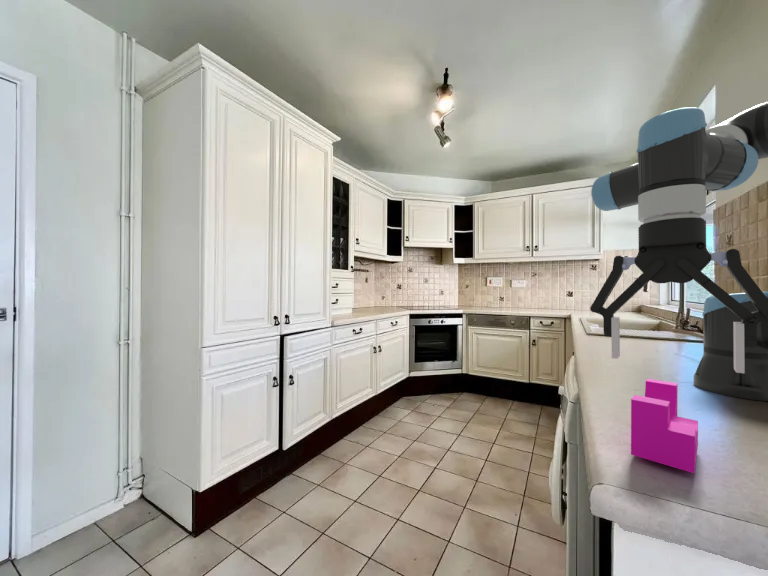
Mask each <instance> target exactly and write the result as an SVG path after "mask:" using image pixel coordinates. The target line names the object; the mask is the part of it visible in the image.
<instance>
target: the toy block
mask: <svg viewBox="0 0 768 576" xmlns="http://www.w3.org/2000/svg"><path fill="white" fill-rule="evenodd" d="M644 389H645V390H644V396H642V395H637V394H634V395H633V396H632V398H631V399H630V455H632V456H635V457H638V458H642V459H645V460H648V461H651V462H655V463H659V464H661V465H662V464H663V465H665V466H669V467H672V468H675V469H679V470H680V471H686V472H688V473H692V474H695V473H696V465H697V457H698V456H697V455H698V450H699V449H698V447H699V421H698V420H696V419H691V418H686V417H681V416H678V382H672V381H671V382H670V381H664V380H660V379H659V380H658V379H652V378H647V379H646V380H645V388H644Z"/></svg>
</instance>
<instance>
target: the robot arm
mask: <svg viewBox="0 0 768 576" xmlns="http://www.w3.org/2000/svg"><path fill="white" fill-rule="evenodd" d="M707 127H708V123H707V121H706V114H705V112H704V110H703V109H702V108H700V107H694V106H693V107H692V106H691V107H679V108H676V109H672V110H668V111H666V112H665V111H664V112H662V113H660V114H657V115H655V116H654V117H651V118H650V119H647V121H646V122H644V123H643V124H642V125H641V126H640V128H639V131H638V139H637V149H636V154H637V162H636V163H633V164H630V165H628V166H625V167H623V168H621V169H617V170H614V171H610V172H608V173H607V174H604V175H602V176H599V177H598V178H596V179H595V180H594V181H593V184H592V186H591V192H590V195H591V198H592V202H593V204H594V205H595V207H596V208H597V209H598V210H601V211H604V212H610V211H615V210H618V211H619V210H622V209H625V208H628V207H633V206H637V210H638V211H637V213H638V214H637V215H638V216H637V217H638V218H637V219H638V220H637V221H639V222H640V223H642V224H640V225H639V226H638V230H637V231H638V253H637V255H636V256H635V257H634V256H633V257H632V256H622V255H616V256H614V258H613V262H612V264H613V265H612V270H611V272H610V273H609V274H608V276H607V278H606V280H605V282H604V284H603V285H602V286H601V288H600V291H599V292H598V293H597V295H596V297H595V299H594V300H593V302H592V304H591V305H590V307H589V310H590V311H591V312H592V313H595V314H598V315H600V316H602V318H603V319H602V320H603V334H604V337H611V359H617V360H618V359H619V358H620V357H621V354H620V353H621V349H620V348H621V347H620V345H621V341H620V340H621V339H620V338H621V336H620V332H621V329H620V318H621V317H620V316H614V314H616V313H617V312H618V311H619V310H620V309H621V308H622V307H623V306H625V304H626V303H628V301H629V300H631V299H632V298H633V297H634V296H635V295H636V294H637V293H638V292H639V291H640V290H641V289H642V288H644V287H645V286H646V285H647V284H648V283H649V282H653V283H655V284H668V283H675V284H686V283H689V282H691V281H695V282H696V283H697V284H698V285H700V286H701V287H702V288H703V289H705V290H706V291H707V292H708V293H709V294H711V296H708V297H707V298H706V299H705V300H704V303H703V311H702V317H703V319H702V323H703V326H702V328H703V331H702V332H703V340H702V341H703V354H702V357H701V359H700V361H699V364H698V366H697V368H696V370H695V373H694V374H693V385H694V386H695V385H696V386H695V387H697V386H698V387H697V388H699V389H701V388H702V390H704V391H707V392H712V393H716V394H719V395H723V396H728V397H733V398H740V399H745V400H746V399H747V400H752V401H753V400H754V401H762V402H768V291H762V289H761V288H760V287H759V286H758V284H757V283H756V281H754V279H753V277H751V275H750V274H749V272H748V271H747V270H746V268H745V267H744V266H743V265H742V260H741V254H740V251H739V250H738V249H736V248H730V249H728V250H724V251H719V252H712V253H711V252H709V250H708V249H707V220H705V218H703V217H701V216H704V215H705V214H706V213H707V197H706V196H707V191H709V192H716V191H727V190H731V189H734V188H736V187H739V186H740V185H742V184H743V183H745V182H747V180H749V179H750V178H751V177H752V176H753V174H754V173H755V171H756V169H757V167H758V165H759V160H762V159H766V158H767V159H768V101H765V102H763V103H760V104H757V105H755V106H752V107H751V108H748V109H746V110H743V111H742V112H739V113H738V114H736V115H734V116H733V117H730V118H728V119H727V120H724V121H722V122H721V123H719V124H716V125H715V126H712V127H709V128H707ZM706 128H707V129H706ZM711 261H713V262H716V263H717V264H718V265H719V267H723V268H724V267H725V268H727V270H728V273H730V275H731V276H732V278H733V279H734V281H735V282H736V283H737V284H738V285H739V287H740V288H741V289H742V291H743V292H738V293H737V292H736V293H728V292H727V291H725V290H724V288H723V289H722V287H721V286H720V285H718V284H716V282H714V281H713V280H712V279H711V278H710V277H708V276H707V275H706V274H705V273H704V272H702V271H703V270H704V269H705V267H706V266H707V265H709V264H710V262H711ZM632 265H635V266H636V267H637V268H638V269H639V270H640V271H641V272H642V273H641V274H640V275H639V276H638V277H637V278H636V279H635V280H634V281H633V282H632V283H631V284H630V285H629V286H628V287H627V288H626V289H625V290H624V291H622V292H621V294H620V295H619V296H618V297H616V299H615V300H614V301H612V302H611V304H610V305H608V306H607V307H605V304H606V302H607V301H608V299H609V296H610V295H611V293H612V292H613V290H614V288H615V287H616V286H617V283H618V282H619V280H620V278H621V277H622V275H623V272H624V271H628V270H629V269H630V268H631V266H632Z"/></svg>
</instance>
